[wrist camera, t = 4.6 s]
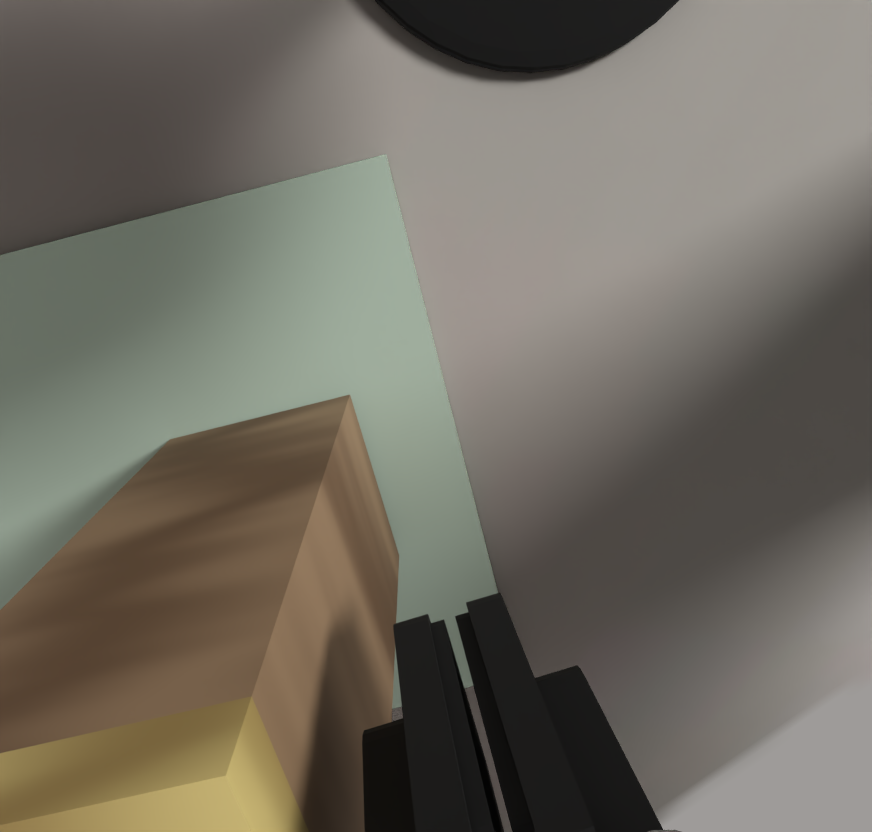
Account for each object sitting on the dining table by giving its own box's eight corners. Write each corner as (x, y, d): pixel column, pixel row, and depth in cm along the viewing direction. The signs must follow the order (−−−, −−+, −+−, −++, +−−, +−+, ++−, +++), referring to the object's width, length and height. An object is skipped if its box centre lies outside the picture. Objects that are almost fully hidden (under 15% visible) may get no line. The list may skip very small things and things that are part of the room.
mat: (385, 154, 16) (386, 154, 16) (516, 666, 21) (518, 672, 21) (-421, 365, 16) (-435, 368, 16) (-90, 841, 21) (-96, 849, 21)
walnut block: (349, 394, 17) (225, 776, 6) (399, 555, 19) (374, 1096, 8) (169, 439, 18) (-275, 885, 6) (233, 594, 19) (-30, 1174, 8)
